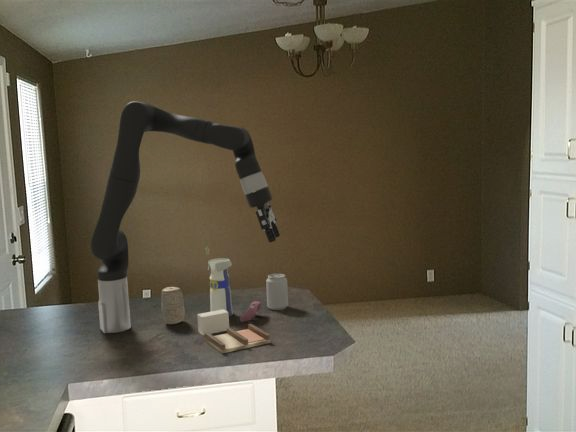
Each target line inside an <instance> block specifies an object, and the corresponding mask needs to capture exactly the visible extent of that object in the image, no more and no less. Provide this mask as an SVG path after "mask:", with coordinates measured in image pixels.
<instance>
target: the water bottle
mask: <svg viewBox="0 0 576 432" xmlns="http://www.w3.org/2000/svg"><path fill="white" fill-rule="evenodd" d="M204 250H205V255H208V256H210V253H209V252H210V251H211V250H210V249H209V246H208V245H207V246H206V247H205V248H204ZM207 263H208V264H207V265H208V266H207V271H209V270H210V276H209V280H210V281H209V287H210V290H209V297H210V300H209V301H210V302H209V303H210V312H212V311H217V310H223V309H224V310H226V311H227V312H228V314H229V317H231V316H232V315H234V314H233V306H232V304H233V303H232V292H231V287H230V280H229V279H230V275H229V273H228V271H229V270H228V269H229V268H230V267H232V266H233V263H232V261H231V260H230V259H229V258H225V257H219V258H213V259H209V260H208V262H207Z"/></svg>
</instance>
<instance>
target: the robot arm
mask: <svg viewBox="0 0 576 432" xmlns="http://www.w3.org/2000/svg"><path fill="white" fill-rule="evenodd" d="M118 128H119V129H118V135H117V142H116V147H115V150H114V154H113V159H112V163H111V167H110V170H109V173H108V178H107V182H106V183H107V184H106V186H105V193H104V196H103V200H102V204H101V208H100V212H99V216H98V220H97V223H96V225H95V228H94V230H93V233H92V236H91V240H90V250H91V253H92V255H93V256H94V257H95V258H97V259H98V260H100V261H101V264H100V266H99V268H98V270H97V273H96V275H97V277H96V278H97V286H98V301H97V304H98V315H99V316H98V317H99V328H100V330H101V332H102V333H103V334H114V333H115V334H116V333H122V332H126V331H127V330H129V329H131V327H132V325H131V311H130V297H129V286H128V285H129V284H128V283H129V282H128V269H129V244H128V243H129V242H128V238H127V235H126V234H125V233H124V231H123V230H121V229H120V227H121V224H122V221H123V219H124V217H125V214H126V213H127V211H128V209H129V208H130V206H131V204H132V202H133V201H134V198H135V196H136V194H137V190H138V186H139V182H140V179H141V163H140V148H141V144H142V140H143V136H144V134H145V133H147V132H159V133H160V132H161V133H167V134H172V135H176V136H179V137H182V138H184V139H186V140H190V141H194V142H197V143H202V144H206V145H212V146H213V145H214V146H216V147H219V148H222V149H226V150H229V151H232V152H233V155H234V158H235V163H234V167H235V170H236V172H237V175H238V178H239V181H240V185H241V188H242V191H243V193H244V196H245V198H246V202H247V204H248V207H249V208H250V209H252V208H256V210H255V214H256V217H257V221H258V223H259V227H260V229H261V230H262V231H264V232H265V235H266V238H267V240H268V241H267V242H268V243H272V242H276V241H277V238H279V237H280V236H281V233H280V231H279V228H278V225H277V221H278V220H277V218H276V216H275V213H274V211H273V208H272V204H268V203H269V202H271V201H272V200H273V196H272V193H271V191H270V188H269V185H268V183H267V180H266V177H265V176H264V173H263V172H262V169H261V167H260V164H259V162H258V159H257V156H256V151H255V146H254V143H253V140H252V137H251V135H250V132H249V131H248V130H247V129H246V128H244V127H241V126H231V125H227V124H221V123H218V122H216V121H212V120H209V119H204V118H199V117H194V116H189V115H181V114H177V113H173V112H170V111H166V110H164V109H162V108H159V107H157V106H154V105H152V104H150V103H147V102H142V101H130V102H128V103H127V104H126V105H125V106H124V107H123V109H122V111H121V114H120V120H119V127H118Z"/></svg>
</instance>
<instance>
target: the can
mask: <svg viewBox="0 0 576 432" xmlns="http://www.w3.org/2000/svg"><path fill="white" fill-rule="evenodd" d="M267 277H268V278H267V279H266V280H265V281H266V282H265V284H266V286H265V287H266V306H267V308H268V309H269V310H272V311H283V310H285V309H287V307H288V306H289V296H288V295H289V294H288V293H289V292H288V289H289V288H288V278H286V275H285V274H283V273H272V274H269V275H267Z"/></svg>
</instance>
